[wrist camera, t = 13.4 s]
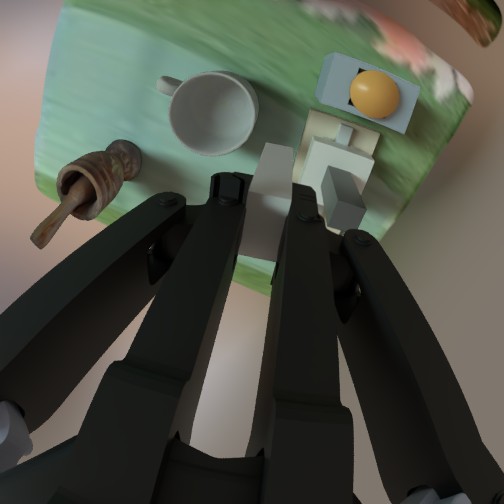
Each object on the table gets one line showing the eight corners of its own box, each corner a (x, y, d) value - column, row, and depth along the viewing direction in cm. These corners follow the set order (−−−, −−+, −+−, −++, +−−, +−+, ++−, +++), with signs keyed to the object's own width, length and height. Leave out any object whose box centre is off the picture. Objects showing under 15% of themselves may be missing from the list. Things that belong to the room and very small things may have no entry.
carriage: (312, 132, 36) (321, 168, 25) (367, 151, 36) (398, 195, 25) (296, 184, 41) (295, 240, 30) (347, 200, 41) (366, 260, 30)
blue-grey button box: (325, 55, 32) (335, 51, 24) (395, 82, 32) (423, 89, 24) (314, 94, 35) (320, 102, 27) (383, 119, 35) (407, 135, 27)
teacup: (278, 106, 37) (275, 115, 31) (225, 155, 42) (212, 174, 36) (206, 42, 32) (187, 38, 26) (159, 96, 38) (133, 104, 31)
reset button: (347, 63, 28) (358, 62, 23) (385, 78, 29) (405, 82, 23) (335, 100, 32) (344, 108, 26) (374, 114, 32) (390, 125, 26)
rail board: (310, 107, 36) (311, 111, 34) (376, 130, 37) (383, 136, 34) (268, 244, 51) (266, 257, 48) (323, 259, 51) (324, 272, 48)
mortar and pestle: (130, 204, 49) (67, 275, 34) (93, 182, 48) (23, 243, 32) (151, 150, 43) (76, 210, 27) (110, 128, 41) (25, 176, 25)
